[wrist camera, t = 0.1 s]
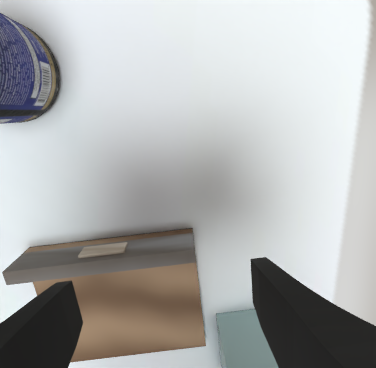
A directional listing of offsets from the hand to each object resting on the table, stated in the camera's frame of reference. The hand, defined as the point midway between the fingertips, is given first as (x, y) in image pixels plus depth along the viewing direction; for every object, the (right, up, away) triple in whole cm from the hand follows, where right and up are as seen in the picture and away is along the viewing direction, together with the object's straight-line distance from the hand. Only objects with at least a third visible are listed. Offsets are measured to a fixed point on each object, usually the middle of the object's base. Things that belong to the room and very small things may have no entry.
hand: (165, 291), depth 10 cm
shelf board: (-5, -5, +12) cm, 14 cm away
